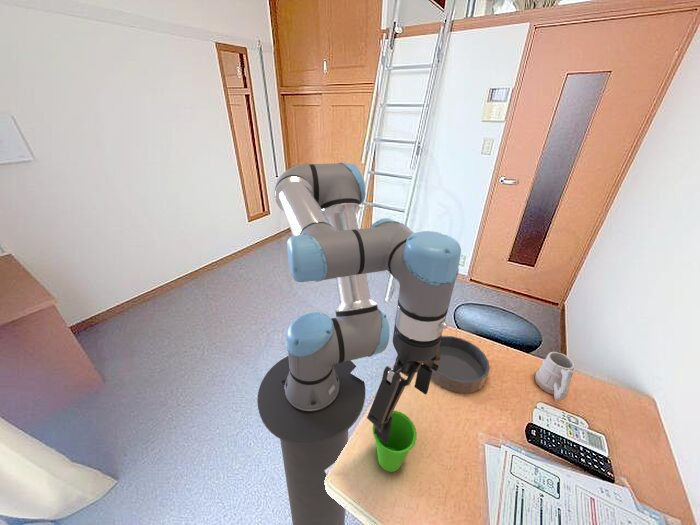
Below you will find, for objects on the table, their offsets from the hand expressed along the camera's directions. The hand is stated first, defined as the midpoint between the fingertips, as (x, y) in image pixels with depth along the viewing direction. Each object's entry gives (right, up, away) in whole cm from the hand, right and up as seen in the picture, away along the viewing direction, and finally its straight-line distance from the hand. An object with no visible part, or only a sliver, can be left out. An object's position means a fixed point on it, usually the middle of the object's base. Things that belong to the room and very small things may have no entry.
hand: (402, 411), depth 56 cm
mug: (+47, -7, +26) cm, 54 cm away
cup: (-1, -15, +8) cm, 17 cm away
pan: (+22, -3, +32) cm, 39 cm away
